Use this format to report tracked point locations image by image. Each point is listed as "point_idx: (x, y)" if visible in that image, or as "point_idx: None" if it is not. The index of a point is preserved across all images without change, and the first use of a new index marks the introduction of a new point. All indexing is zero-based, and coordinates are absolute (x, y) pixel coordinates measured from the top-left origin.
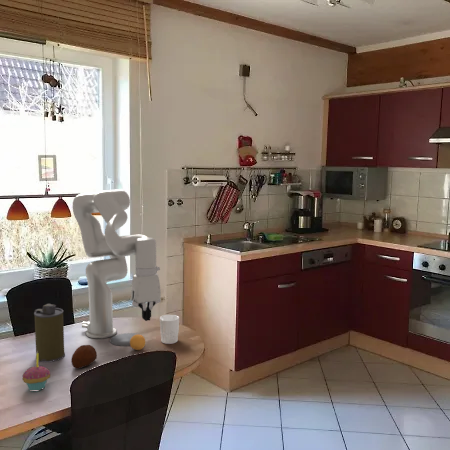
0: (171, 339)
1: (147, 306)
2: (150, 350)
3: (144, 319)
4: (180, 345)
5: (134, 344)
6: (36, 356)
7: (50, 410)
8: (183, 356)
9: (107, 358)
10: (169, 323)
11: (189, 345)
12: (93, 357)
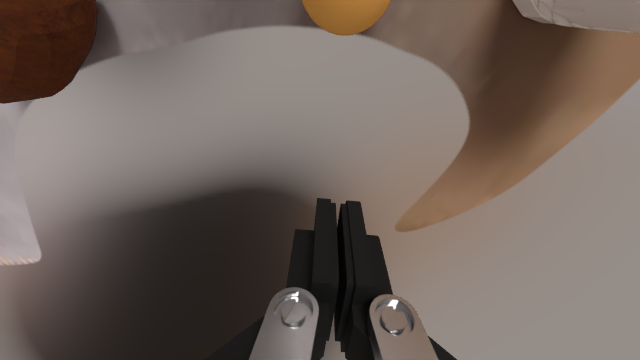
0: (546, 21)
1: (363, 345)
2: (390, 40)
3: (314, 228)
4: (539, 69)
5: (310, 16)
6: None
7: (5, 255)
8: (450, 177)
9: (168, 9)
10: (630, 23)
11: (565, 95)
12: (62, 88)
